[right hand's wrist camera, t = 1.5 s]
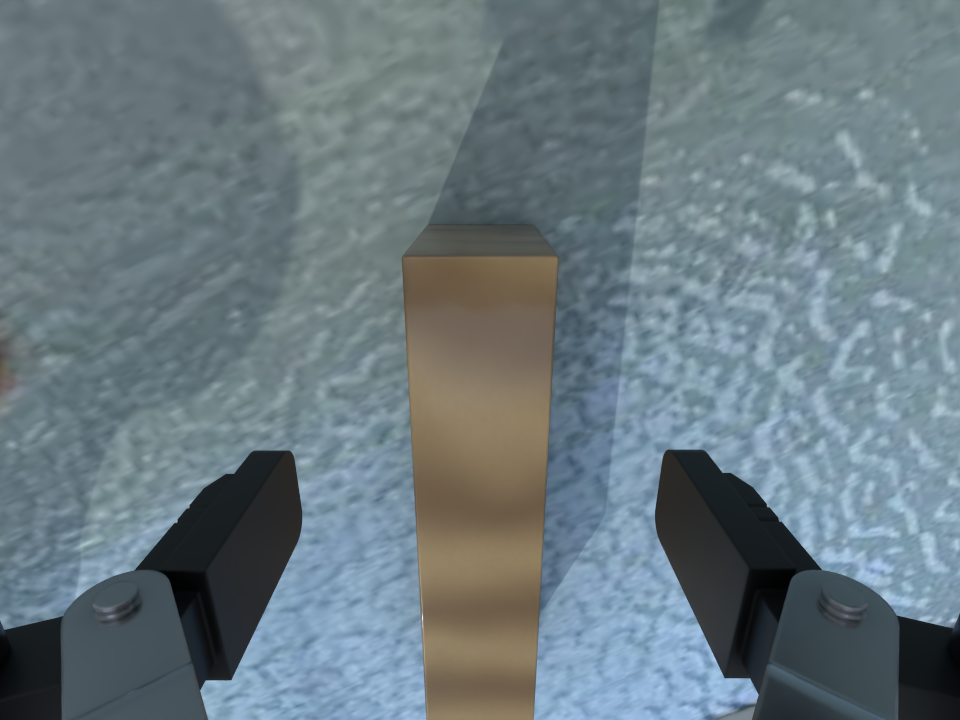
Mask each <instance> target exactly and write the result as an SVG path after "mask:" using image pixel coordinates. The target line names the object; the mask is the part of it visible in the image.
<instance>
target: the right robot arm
mask: <svg viewBox="0 0 960 720" xmlns="http://www.w3.org/2000/svg"><path fill="white" fill-rule="evenodd" d="M655 523H656V530H657V534H658V538H659V540H660V543H661V545H662V547H663V549H664V551H665V553H666V555H667V557H668V559H669V562H670V564H671V566H672V568H673V570H674V572H675V574H676V576H677V578H678V581H679V583H680V585H681V587H682V589H683V591H684V593H685V595H686V597H687V600H688V602H689V604H690V606H691V608H692V610H693V612H694V614H695V616H696V618H697V621H698V623H699V625H700V627H701V629H702V631H703V633H704V635H705V637H706V640H707V642H708V644H709V646H710V648H711V650H712V652H713V654H714V656H715V659H716V661H717V663H718V665H719V667H720V669H721V671H722V673H723V675H724V677H725V678H750V679H751V681H752V683H753V685H754V686H755V688H756V690H757V692H758V694H759V696H758V700H757V703H756V707H755V711H754V714H753V718H752V720H960V615H959V617H958V619H957V622H956V624H955V626H954V629H952V628H948V627H944V626H939V625H935V624H931V623H927V622H922V621H918V620H914V619H909V618H905V617H901V616H897V615H896V614H895V612H894V611H893V609H892V608H891V606H890V605H889V604H888V603H887V602H886V601H885V600H884V599H883V598H882V597H881V596H880V595H878V594H877V593H876V592H874V591H873V590H872V589H870V588H868V587H867V586H865V585H864V584H862V583H860V582H858V581H856V580H854V579H851V578H849V577H847V576H844V575H841V574H838V573H834V572H830V571H823V570H822V569H821V568H820V567H819V566H818V565H817V563H816V562H815V561H814V560H813V559H812V557H811V556H810V555H809V554H808V553H807V552H806V550H805V549H804V548H803V547H802V546H801V544H800V543H799V542H798V541H797V540H796V538H795V537H794V536H793V535H792V534H791V532H790V531H789V530H788V529H787V528H786V526H785V525H784V524H783V523H782V522H779V520H778V517H777V516H776V515H775V513H774V512H773V511H772V510H771V509H770V507H767V504H766V503H765V501H764V500H763V499H762V498H761V497H760V495H759V494H758V493H757V492H756V491H755V489H754V488H753V487H751V486H750V485H748V484H747V483H745V482H744V481H742V480H741V479H739V478H738V477H736V476H735V475H733V474H732V473H722V472H721V470H720V469H719V468H718V466H717V465H716V464H715V463H714V461H713V460H712V459H711V458H710V456H709V455H708V454H707V453H706V451H704V450H667V451H666V452H665V453H664V456H663V460H662V467H661V474H660V481H659V488H658V495H657V502H656V509H655ZM301 527H302V508H301V501H300V494H299V487H298V480H297V473H296V466H295V460H294V456H293V454H292V452H290V451H253V452H251V453H250V454H249V456H248V457H247V458H246V460H245V461H244V462H243V463H242V465H241V466H240V467H239V468H238V470H237V471H236V472H235V473H234V474H225V475H224V476H222V477H221V478H219V479H218V480H216V481H215V482H213V483H211V484H210V485H208V486H207V487H205V488H204V489H203V490H202V491H201V492H200V494H199V495H198V496H197V497H196V498H195V500H194V501H193V502H192V503H191V504H190V508H189V509H186V510H185V511H184V513H183V514H182V515H181V516H180V517H179V518H178V522H177V523H174V524H173V526H172V527H171V528H170V529H169V530H168V531H167V533H166V534H165V535H164V536H163V537H162V539H161V540H160V541H159V542H158V543H157V544H156V546H155V547H154V548H153V549H152V550H151V552H150V553H149V554H148V555H147V556H146V557H145V559H144V560H143V561H142V562H141V563H140V565H139V566H138V567H137V568H136V569H135V570H134V571H130V572H126V573H122V574H119V575H116V576H113V577H111V578H109V579H106V580H104V581H102V582H100V583H98V584H96V585H95V586H93V587H92V588H90V589H88V590H87V591H86V592H84V593H83V594H82V595H80V596H79V597H78V598H77V599H76V600H75V601H74V602H73V603H72V604H71V605H70V606H69V608H68V609H67V611H66V612H65V614H64V616H62V617H58V618H54V619H50V620H46V621H41V622H37V623H33V624H29V625H24V626H20V627H16V628H11V629H7V630H4V629H3V626H2V624H1V622H0V720H208V718H207V714H206V711H205V707H204V703H203V700H202V696H201V692H200V690H201V688H202V686H203V684H204V682H205V680H232V677H233V675H234V673H235V671H236V669H237V667H238V665H239V663H240V661H241V659H242V657H243V655H244V653H245V650H246V648H247V646H248V644H249V642H250V640H251V638H252V636H253V634H254V632H255V630H256V628H257V625H258V623H259V621H260V619H261V617H262V615H263V613H264V611H265V609H266V607H267V605H268V603H269V600H270V598H271V596H272V594H273V592H274V590H275V588H276V586H277V584H278V582H279V580H280V578H281V575H282V573H283V571H284V569H285V567H286V565H287V563H288V561H289V559H290V557H291V555H292V553H293V550H294V548H295V546H296V544H297V542H298V540H299V537H300V533H301Z"/></svg>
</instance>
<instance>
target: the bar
mask: <svg viewBox="0 0 960 720" xmlns="http://www.w3.org/2000/svg"><path fill="white" fill-rule="evenodd" d="M558 262H559V258H558V255H557V254H556V253H555V252H554V250H553V249H552V248H551V246H550V245H549V244H548V243H547V241H546V240H545V239H544V237H543V236H542V235H541V234H540V232H539V231H538V230H537V228H536V227H535V226H534V225H427V226H426V228H425V229H424V230H423V231H422V233H421V234H420V235H419V236H418V237H417V239H416V240H415V241H414V242H413V244H412V245H411V246H410V247H409V249H408V250H407V251H406V252H405V254H404V255H403V256H402V270H403V289H404V308H405V326H406V345H407V364H408V383H409V401H410V420H411V439H412V458H413V476H414V495H415V514H416V533H417V551H418V570H419V589H420V608H421V626H422V645H423V664H424V682H425V701H426V720H534V704H535V685H536V667H537V649H538V630H539V612H540V593H541V575H542V556H543V538H544V520H545V501H546V483H547V464H548V446H549V427H550V409H551V391H552V372H553V354H554V335H555V317H556V298H557V280H558Z"/></svg>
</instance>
